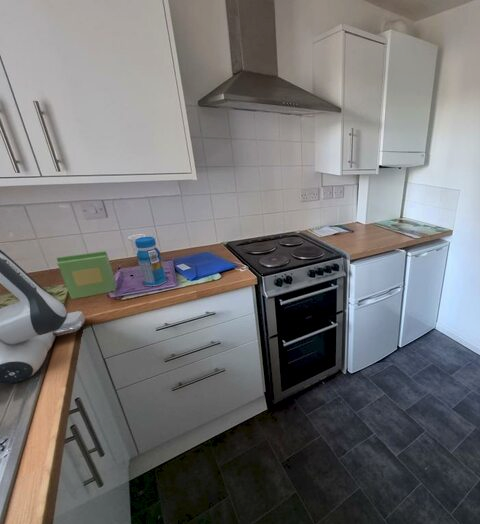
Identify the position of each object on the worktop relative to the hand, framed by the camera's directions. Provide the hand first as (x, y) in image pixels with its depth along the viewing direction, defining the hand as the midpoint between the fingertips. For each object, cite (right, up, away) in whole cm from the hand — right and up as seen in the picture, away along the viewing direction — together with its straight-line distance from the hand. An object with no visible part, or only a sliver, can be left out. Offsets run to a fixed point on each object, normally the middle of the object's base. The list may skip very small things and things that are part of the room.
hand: (46, 316), depth 95 cm
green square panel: (-6, +5, +26) cm, 27 cm away
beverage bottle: (+13, +8, +34) cm, 38 cm away
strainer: (-7, +17, +56) cm, 59 cm away
